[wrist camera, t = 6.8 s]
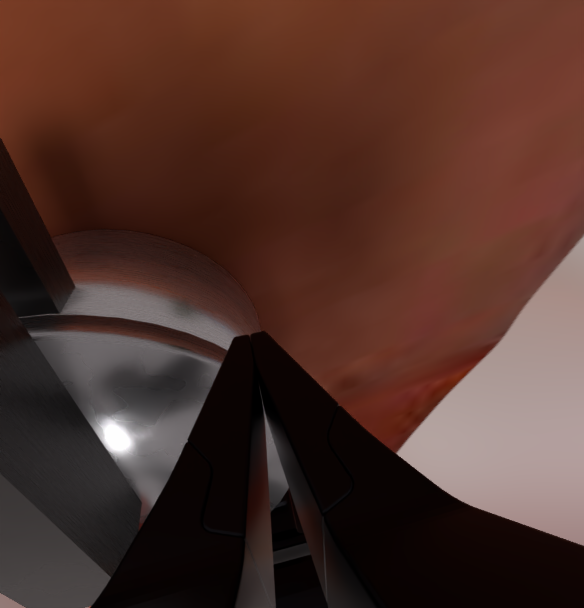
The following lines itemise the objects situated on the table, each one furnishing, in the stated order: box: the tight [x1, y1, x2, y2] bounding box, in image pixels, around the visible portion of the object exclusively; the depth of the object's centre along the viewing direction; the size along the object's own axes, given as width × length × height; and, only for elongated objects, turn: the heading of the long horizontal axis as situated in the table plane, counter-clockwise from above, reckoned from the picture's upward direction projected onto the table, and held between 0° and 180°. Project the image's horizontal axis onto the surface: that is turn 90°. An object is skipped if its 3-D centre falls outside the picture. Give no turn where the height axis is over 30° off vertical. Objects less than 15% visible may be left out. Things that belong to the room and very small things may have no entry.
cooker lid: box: [0, 290, 289, 608], centre depth 11 cm, size 19×16×4 cm
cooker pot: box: [0, 138, 261, 350], centre depth 16 cm, size 20×15×7 cm
